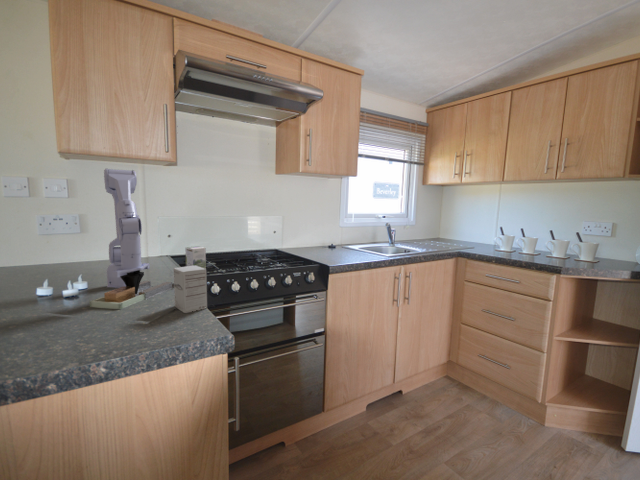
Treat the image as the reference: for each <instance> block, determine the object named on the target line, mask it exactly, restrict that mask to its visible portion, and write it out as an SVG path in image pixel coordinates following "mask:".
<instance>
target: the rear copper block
mask: <svg viewBox="0 0 640 480" xmlns="http://www.w3.org/2000/svg"><path fill="white" fill-rule="evenodd" d="M114 290H126V300H128V299H131V298H134V297H135V287H127V286H123V287H120V288H115V289H114Z"/></svg>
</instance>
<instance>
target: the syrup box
mask: <svg viewBox="0 0 640 480" xmlns="http://www.w3.org/2000/svg"><path fill="white" fill-rule="evenodd" d="M206 255H207V253H206V247H204V246H201V245H198V246H188V247H185V267H186V266H195V265H196V266H199V267H201V268H204V269H206V270H207V268H206V267H207V263H206V260H207V257H206Z"/></svg>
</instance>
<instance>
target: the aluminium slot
mask: <svg viewBox="0 0 640 480" xmlns="http://www.w3.org/2000/svg"><path fill="white" fill-rule="evenodd" d="M151 283H152V282H151V280H143V281H140V284H139V288H138V292H137V294H135V297H136V296H139V295H141V294H145V299H144V300H148V299H151V298H153V297H156V296H158V295H162V294H163V293H166V292H167V291H170V290H172V289H174V288H173V282H171V281H170V282H169V281H165V282H162V283H160V284H157V285H154V286H152V284H151Z"/></svg>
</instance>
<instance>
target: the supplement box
mask: <svg viewBox="0 0 640 480" xmlns="http://www.w3.org/2000/svg"><path fill="white" fill-rule="evenodd" d="M207 281H208V279H207V268H206V269H204V268H201V267H199V266H196V265H195V266H186V265H185V266H181V267H174V268H173V287H174V288H173V289H174V307H175V308H176V309H178V310H179V311H181V312H182V313H184V314H187V313H193V312H196V310H198V311H201V310H200V309H202V310H205V307H206V309H208V292H207V291H208V286H207V285H208V284H207ZM192 311H193V312H192Z"/></svg>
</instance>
